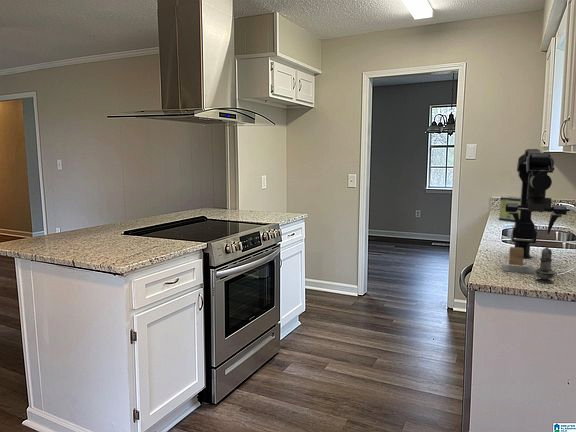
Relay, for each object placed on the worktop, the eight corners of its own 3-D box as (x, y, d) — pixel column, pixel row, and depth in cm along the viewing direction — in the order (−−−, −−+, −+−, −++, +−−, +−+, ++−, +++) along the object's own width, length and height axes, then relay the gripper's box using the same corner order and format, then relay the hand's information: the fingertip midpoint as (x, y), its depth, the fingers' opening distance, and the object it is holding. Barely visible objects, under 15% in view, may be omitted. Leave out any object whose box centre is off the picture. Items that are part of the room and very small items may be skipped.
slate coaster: (502, 265, 169) (502, 264, 169) (531, 268, 165) (531, 267, 165) (503, 271, 160) (503, 270, 160) (534, 274, 156) (534, 273, 156)
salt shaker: (547, 279, 150) (550, 244, 149) (558, 283, 144) (561, 247, 143) (530, 279, 150) (533, 244, 148) (540, 284, 144) (543, 247, 142)
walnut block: (509, 261, 175) (510, 246, 175) (521, 262, 174) (522, 247, 173) (509, 264, 171) (510, 249, 171) (522, 265, 170) (523, 250, 169)
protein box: (508, 219, 303) (509, 196, 301) (530, 222, 289) (532, 198, 287) (498, 220, 298) (500, 197, 296) (520, 223, 284) (522, 198, 282)
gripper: (506, 189, 153) (503, 234, 155) (570, 191, 145) (566, 238, 147) (507, 187, 163) (504, 229, 165) (566, 189, 154) (563, 233, 156)
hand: (533, 232), depth 158 cm, fingers open, 9 cm apart
